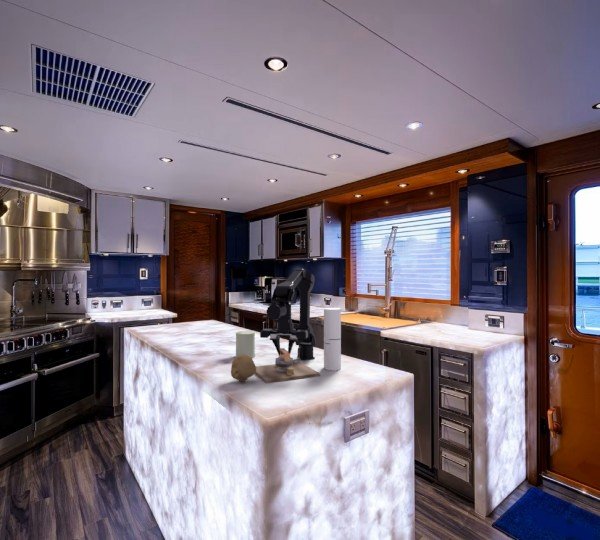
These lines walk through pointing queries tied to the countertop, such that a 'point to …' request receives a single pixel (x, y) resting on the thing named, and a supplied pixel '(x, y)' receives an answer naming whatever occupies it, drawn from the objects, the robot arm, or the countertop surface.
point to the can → (245, 343)
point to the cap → (284, 359)
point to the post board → (284, 372)
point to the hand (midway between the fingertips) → (284, 355)
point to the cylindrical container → (332, 338)
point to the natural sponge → (242, 367)
